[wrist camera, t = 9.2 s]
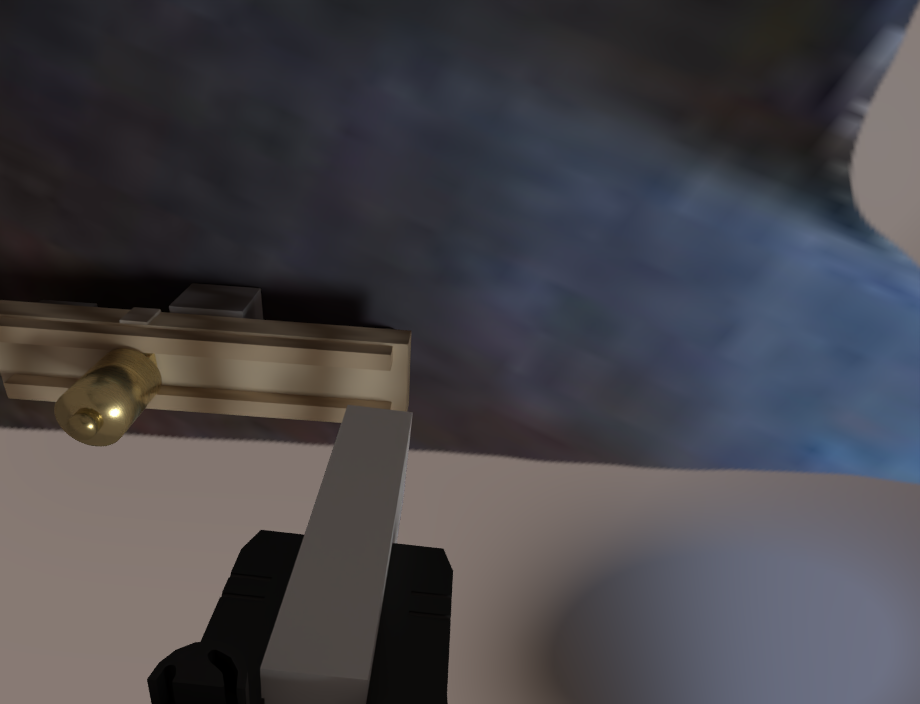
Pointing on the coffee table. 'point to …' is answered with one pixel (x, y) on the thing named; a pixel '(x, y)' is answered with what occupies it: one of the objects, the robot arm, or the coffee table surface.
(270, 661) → the robot arm
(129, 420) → the rider
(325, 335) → the stand
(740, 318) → the coffee table surface
